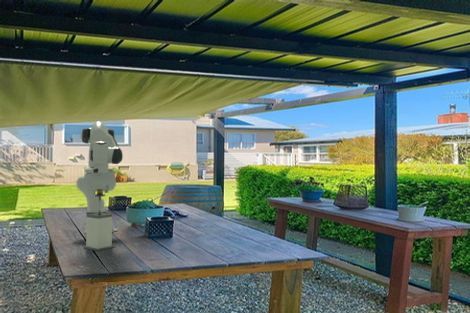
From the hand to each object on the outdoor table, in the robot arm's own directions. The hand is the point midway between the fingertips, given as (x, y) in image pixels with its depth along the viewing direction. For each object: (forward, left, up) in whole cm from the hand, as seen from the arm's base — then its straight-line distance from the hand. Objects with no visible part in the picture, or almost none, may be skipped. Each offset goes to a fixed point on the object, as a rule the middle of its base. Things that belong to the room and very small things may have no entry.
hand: (100, 193), depth 251 cm
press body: (0, 0, -32) cm, 32 cm away
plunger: (0, 0, -16) cm, 16 cm away
